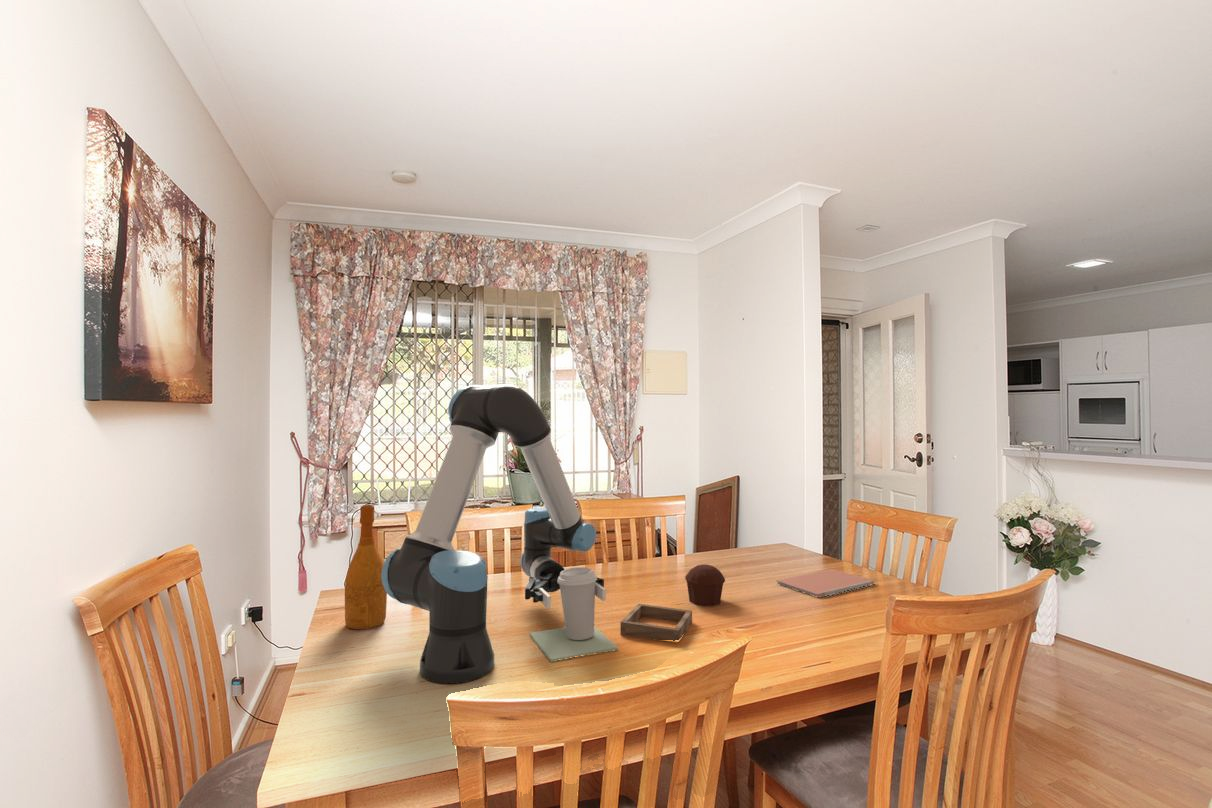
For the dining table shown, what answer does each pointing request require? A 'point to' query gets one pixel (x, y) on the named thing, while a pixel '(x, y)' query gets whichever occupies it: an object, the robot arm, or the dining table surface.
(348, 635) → the dining table surface
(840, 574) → the notebook
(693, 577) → the muffin
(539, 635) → the mat
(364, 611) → the wine bottle
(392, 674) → the dining table surface
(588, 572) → the coffee cup
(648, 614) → the square tray
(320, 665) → the dining table surface
